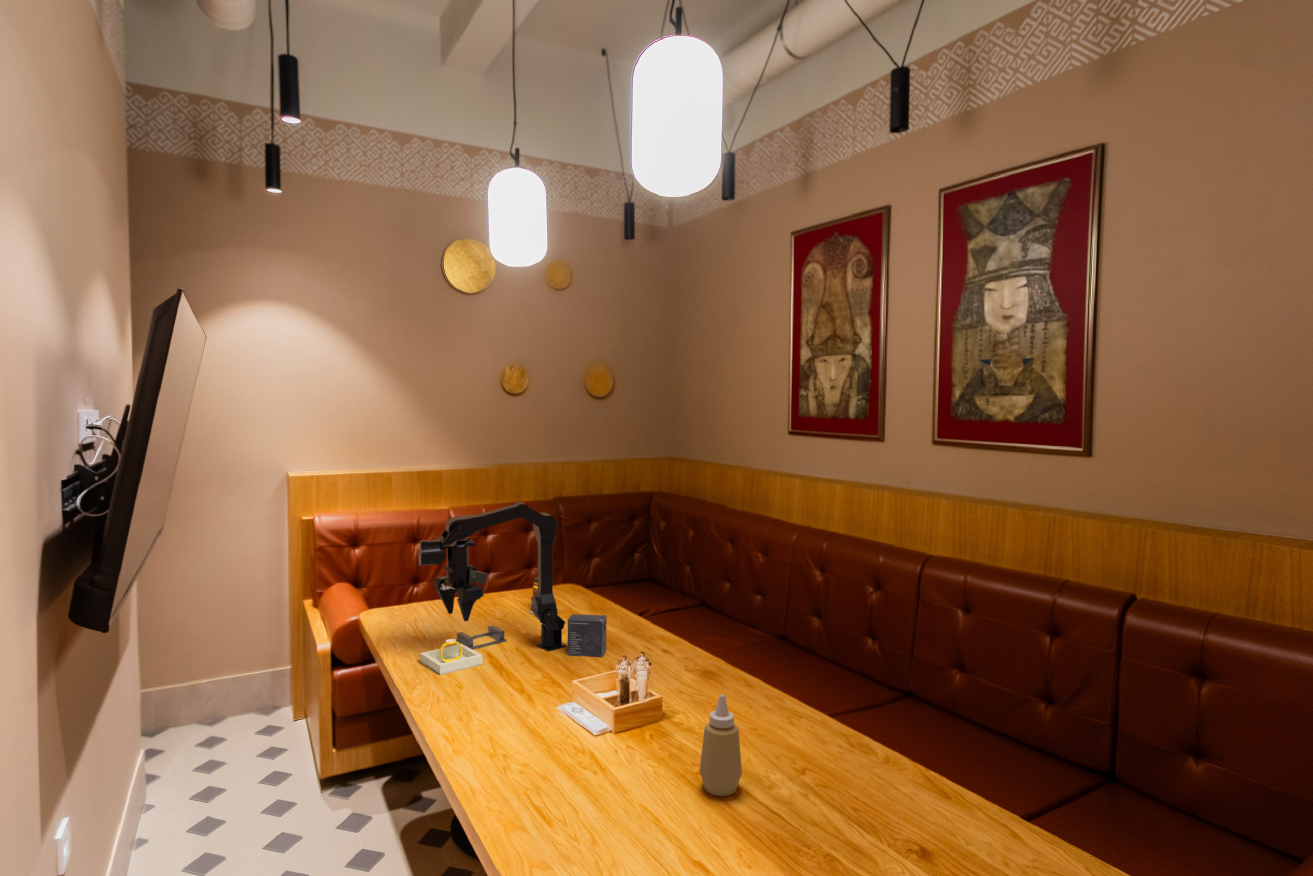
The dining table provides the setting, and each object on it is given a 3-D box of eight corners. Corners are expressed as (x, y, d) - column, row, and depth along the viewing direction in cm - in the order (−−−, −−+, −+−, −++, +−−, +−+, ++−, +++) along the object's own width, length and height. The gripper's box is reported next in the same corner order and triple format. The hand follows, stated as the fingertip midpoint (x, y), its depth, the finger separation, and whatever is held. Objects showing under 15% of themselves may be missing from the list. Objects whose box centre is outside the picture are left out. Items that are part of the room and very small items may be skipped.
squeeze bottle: (714, 773, 142) (716, 684, 141) (749, 788, 137) (752, 695, 136) (690, 790, 136) (692, 696, 135) (726, 806, 131) (728, 708, 130)
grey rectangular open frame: (506, 641, 218) (506, 631, 218) (470, 650, 210) (470, 639, 210) (490, 633, 225) (490, 624, 225) (455, 641, 217) (455, 632, 217)
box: (606, 649, 212) (607, 614, 212) (603, 657, 206) (603, 621, 205) (571, 648, 213) (571, 613, 213) (566, 655, 207) (566, 620, 206)
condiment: (527, 613, 247) (528, 578, 247) (540, 607, 255) (540, 573, 255) (546, 615, 245) (546, 581, 244) (558, 609, 253) (558, 575, 252)
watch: (442, 665, 197) (440, 644, 196) (439, 662, 199) (437, 641, 199) (463, 660, 200) (462, 639, 199) (460, 657, 202) (459, 636, 202)
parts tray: (482, 664, 199) (482, 655, 199) (440, 675, 190) (440, 665, 190) (461, 652, 208) (461, 643, 208) (420, 662, 200) (420, 653, 200)
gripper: (500, 563, 200) (500, 619, 201) (467, 553, 214) (468, 604, 214) (463, 570, 192) (464, 627, 193) (432, 558, 206) (432, 612, 207)
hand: (458, 617), depth 202 cm, fingers open, 9 cm apart
